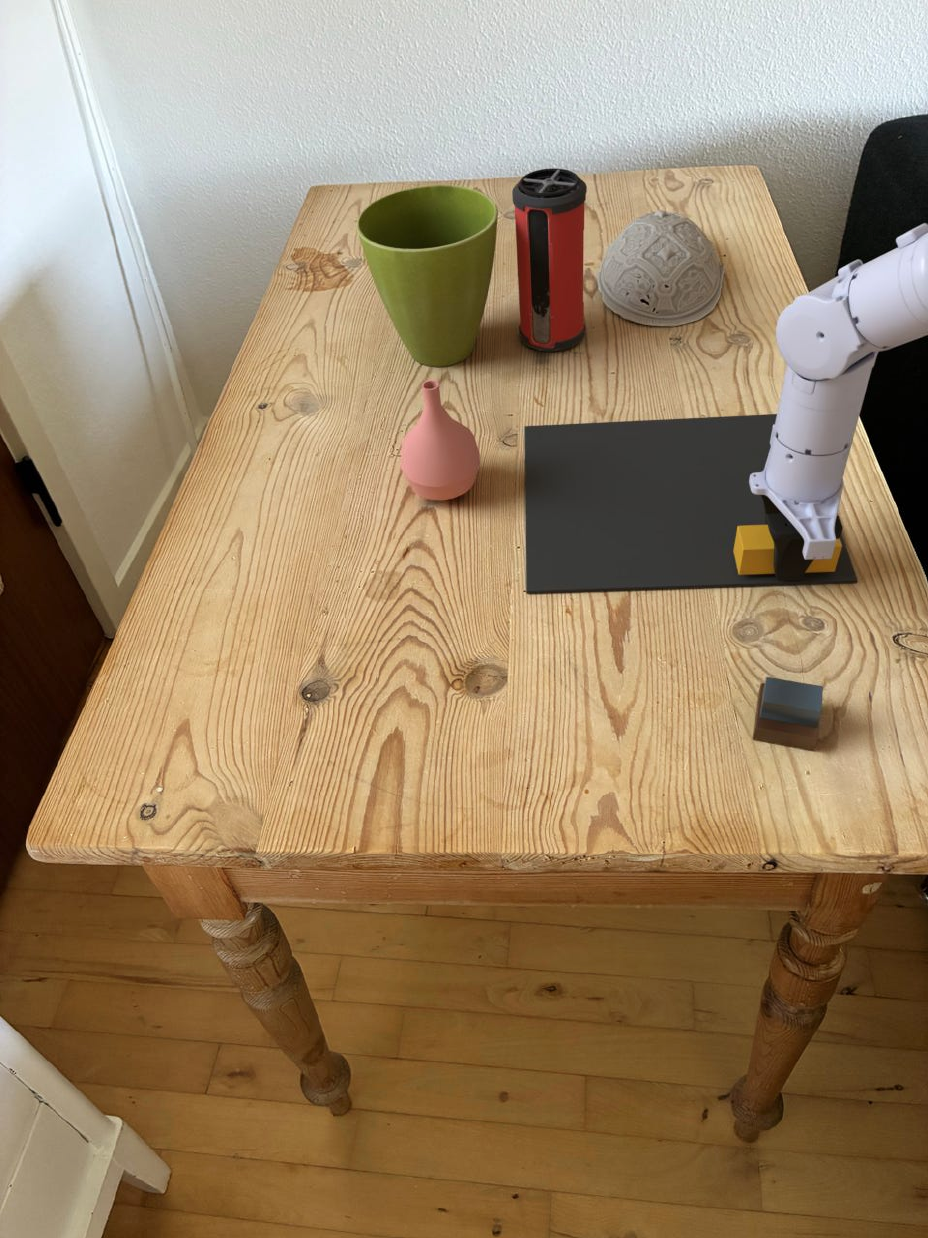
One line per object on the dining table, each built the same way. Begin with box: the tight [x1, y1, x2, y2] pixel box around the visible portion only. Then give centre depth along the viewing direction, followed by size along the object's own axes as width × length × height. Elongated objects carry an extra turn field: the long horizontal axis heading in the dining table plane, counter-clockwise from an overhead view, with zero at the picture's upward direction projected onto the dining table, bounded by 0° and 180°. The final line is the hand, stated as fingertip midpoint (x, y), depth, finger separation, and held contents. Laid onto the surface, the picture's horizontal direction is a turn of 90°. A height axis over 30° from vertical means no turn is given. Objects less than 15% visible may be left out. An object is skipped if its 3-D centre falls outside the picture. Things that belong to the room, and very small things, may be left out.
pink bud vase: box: [400, 379, 481, 501], centre depth 88 cm, size 8×8×12 cm
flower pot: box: [355, 184, 499, 368], centre depth 104 cm, size 15×15×16 cm
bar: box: [733, 525, 842, 575], centre depth 80 cm, size 8×3×3 cm, turn 88°
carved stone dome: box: [596, 209, 726, 328], centre depth 116 cm, size 16×25×7 cm, turn 172°
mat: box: [524, 413, 859, 595], centre depth 89 cm, size 28×24×1 cm
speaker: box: [511, 167, 588, 353], centre depth 103 cm, size 8×8×18 cm
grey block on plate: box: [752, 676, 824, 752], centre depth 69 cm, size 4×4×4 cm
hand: (783, 562), depth 81 cm, fingers closed on bar, 3 cm apart
